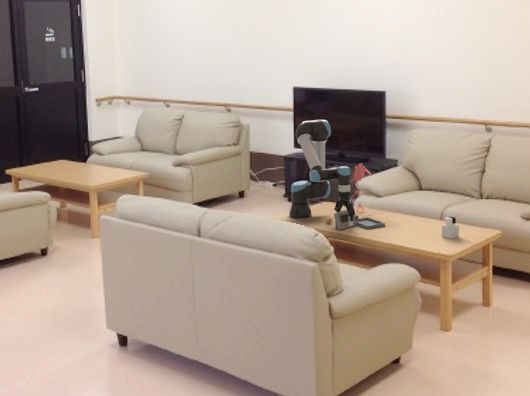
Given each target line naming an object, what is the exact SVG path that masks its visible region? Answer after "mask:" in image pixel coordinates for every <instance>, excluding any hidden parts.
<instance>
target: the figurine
mask: <svg viewBox="0 0 530 396" xmlns="http://www.w3.org/2000/svg"><path fill="white" fill-rule="evenodd" d="M365 173H367V174H368V175H370V176H372V174H371V172H370V171H369V170H368V169H367V168H366V166H365V165H363V162H361V163H358V165H355V166H354V174H353V178H352V179H350V183H351V182H352V181H355V183H356V188H357V190H355V194H353V195H352V196H351V195H350V198H352V197H354V196H355V195H359V197H361V193H360V190H359V184H358V182H361V181H362V179H364V178H365ZM353 208H354V206H353ZM359 209H361V210H362V212H365V209H364V208H363V206H362V204H361V202H359V203H358V207H357V209H356V211H355V208H354V211H355V212H359ZM372 215H373V213H371V214H370V215H369V214H368V215H367V217H369V216H372Z"/></svg>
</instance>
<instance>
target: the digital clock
mask: <svg viewBox="0 0 530 396" xmlns="http://www.w3.org/2000/svg"><path fill="white" fill-rule="evenodd" d="M333 216H334V219H335V221H334V222H335V223H334V224H335V228H336V229H337V230H340V231H341V230H345V229H346V230H347V229H348V228H352V227H354V226H356V225H355V220H354V216H353V226H349V213H348V211H347V209H343V210H341V211H339V212H334V214H333Z"/></svg>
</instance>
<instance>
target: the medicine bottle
mask: <svg viewBox="0 0 530 396" xmlns="http://www.w3.org/2000/svg"><path fill="white" fill-rule="evenodd" d="M456 219H457V218H456V217H455V216H446V217H445V220H444V221H445V224H441V225H442V226H441V237H442V238H445V237H446V238H445V239H450V240H451V239H456V238H458V237H460V233H459V231H460V225H459V224H457V222H456V221H457V220H456Z"/></svg>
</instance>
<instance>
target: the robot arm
mask: <svg viewBox="0 0 530 396" xmlns="http://www.w3.org/2000/svg"><path fill="white" fill-rule="evenodd" d="M331 134H332V128H331V124H330V123H329V122H328V120H326V119H315V120H304V121H301V123H299V124H298V126H297V128H296V130H295V139H296V141H297V144H298V145H300V147H301V150H302V152H303V155H304V157H305V160H306V162H307V165H308V167H309V169H310V171H309V174H308V177H309V181H308V180H299V181H295V182H293V183H292V184H291V188H290V193H291V206H290V210H289V212H288V213H289V217H290V218H293V219H294V218H295V219H305V218H310V217H312V209H311V207H310V204H309V203H310V202H309V201H311V200H318V199H319V200H322V199H326V198H328V197H329V196H330V194H331V183H330V182H329V181H336V180H337V184H338V187H337V188H338V189H337V190H338V192H337V193H338V195H337V197H336V202H335V206H334V211H335V213H337V212H340V211H342V208H343V207H344V208H346V209H345V210H347V211H348V213H349V226H352V227H354V226H353V216H354V215H356V211H354V209H355V208H353V207H354V204H353V199H350V198H351V182H350V181H351V169H350V167H349V166H346V165H343V166H342V165H341V166H332V167H329V168H326V143H327V141H328V138H329V137H331Z"/></svg>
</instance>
